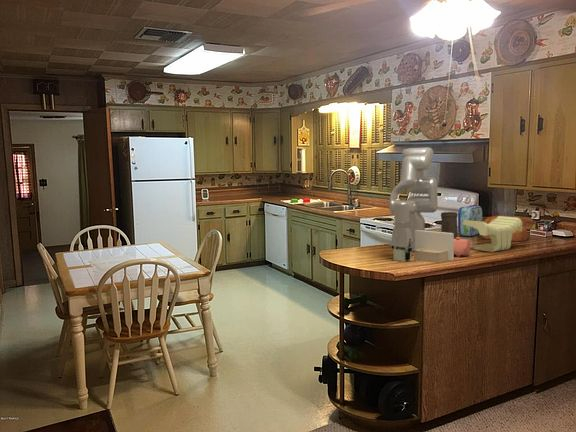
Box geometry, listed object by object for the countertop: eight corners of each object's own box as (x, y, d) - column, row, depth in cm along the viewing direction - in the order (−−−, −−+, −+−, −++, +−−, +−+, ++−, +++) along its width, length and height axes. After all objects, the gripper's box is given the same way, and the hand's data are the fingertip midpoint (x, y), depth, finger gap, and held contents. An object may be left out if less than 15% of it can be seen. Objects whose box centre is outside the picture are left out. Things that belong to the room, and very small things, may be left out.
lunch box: (468, 232, 351) (468, 203, 349) (483, 233, 344) (484, 204, 342) (455, 236, 331) (455, 206, 328) (471, 238, 324) (471, 206, 322)
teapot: (443, 257, 260) (443, 238, 259) (444, 253, 271) (444, 235, 270) (471, 258, 255) (471, 239, 254) (471, 254, 266) (471, 236, 265)
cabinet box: (393, 260, 255) (393, 244, 254) (401, 258, 260) (401, 243, 259) (402, 261, 251) (402, 245, 250) (410, 259, 255) (410, 244, 255)
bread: (521, 242, 300) (521, 217, 299) (479, 239, 319) (479, 215, 318) (529, 239, 310) (529, 215, 309) (488, 236, 329) (488, 213, 327)
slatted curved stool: (486, 254, 264) (486, 222, 263) (463, 250, 278) (463, 219, 277) (521, 248, 278) (522, 218, 277) (498, 245, 292) (498, 216, 291)
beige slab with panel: (404, 258, 260) (404, 232, 259) (416, 255, 268) (416, 230, 267) (441, 263, 244) (441, 235, 243) (453, 259, 252) (453, 233, 251)
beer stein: (458, 245, 297) (458, 212, 296) (440, 244, 300) (440, 212, 300) (458, 242, 312) (458, 211, 311) (440, 242, 315) (440, 211, 314)
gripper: (384, 225, 257) (384, 258, 259) (412, 227, 245) (412, 262, 246) (392, 223, 262) (392, 256, 264) (420, 225, 250) (420, 260, 251)
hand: (402, 258), depth 255 cm, fingers closed on cabinet box, 6 cm apart
